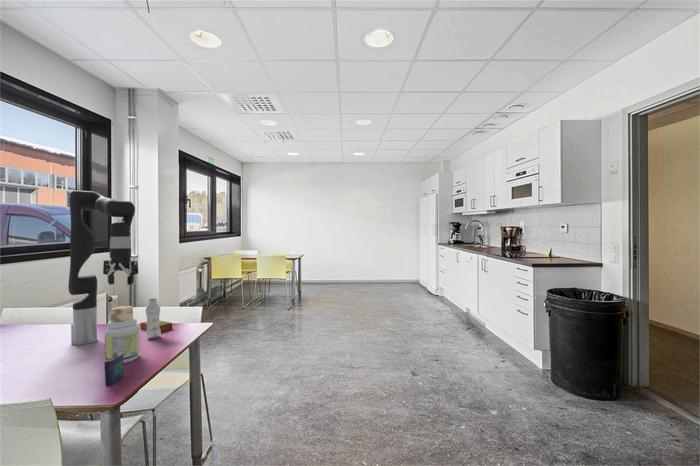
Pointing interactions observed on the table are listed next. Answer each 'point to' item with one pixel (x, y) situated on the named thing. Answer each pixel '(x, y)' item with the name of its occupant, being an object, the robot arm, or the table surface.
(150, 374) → the table surface
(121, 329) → the supplement tub
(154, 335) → the plastic bottle
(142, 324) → the carton
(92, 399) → the table surface
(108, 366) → the flask
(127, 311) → the beech cube
